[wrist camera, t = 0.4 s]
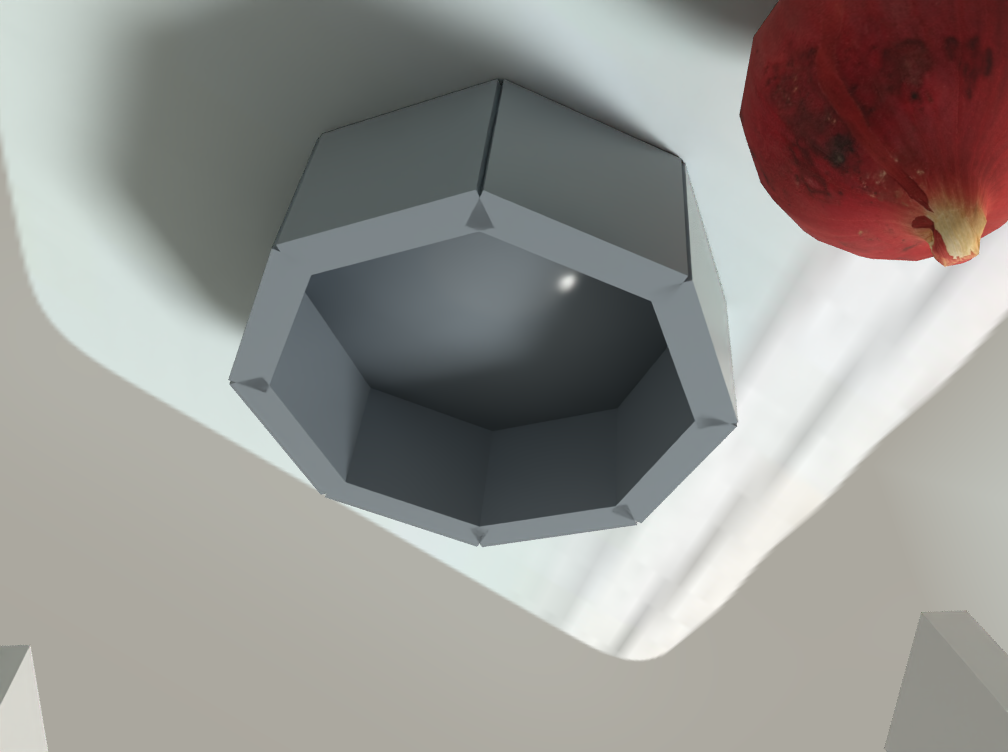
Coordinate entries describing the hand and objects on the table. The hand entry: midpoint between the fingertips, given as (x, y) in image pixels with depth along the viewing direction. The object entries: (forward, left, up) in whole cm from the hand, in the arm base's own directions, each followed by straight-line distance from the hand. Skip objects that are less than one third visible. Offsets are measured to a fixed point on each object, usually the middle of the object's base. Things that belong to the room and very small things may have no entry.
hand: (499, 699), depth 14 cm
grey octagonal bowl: (+4, 0, -14) cm, 15 cm away
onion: (-7, +4, -14) cm, 16 cm away
